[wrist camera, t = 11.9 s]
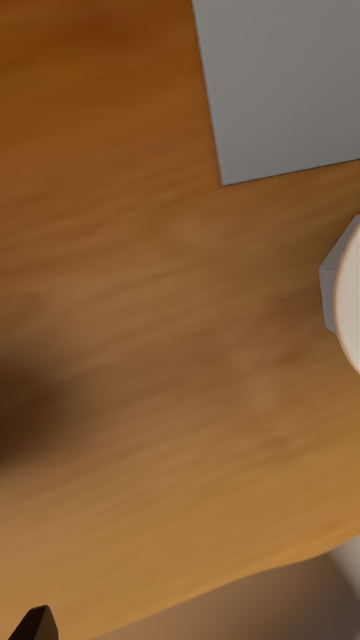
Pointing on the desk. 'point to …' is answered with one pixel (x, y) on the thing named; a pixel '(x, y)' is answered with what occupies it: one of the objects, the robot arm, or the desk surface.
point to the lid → (348, 300)
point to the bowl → (333, 273)
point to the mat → (280, 83)
